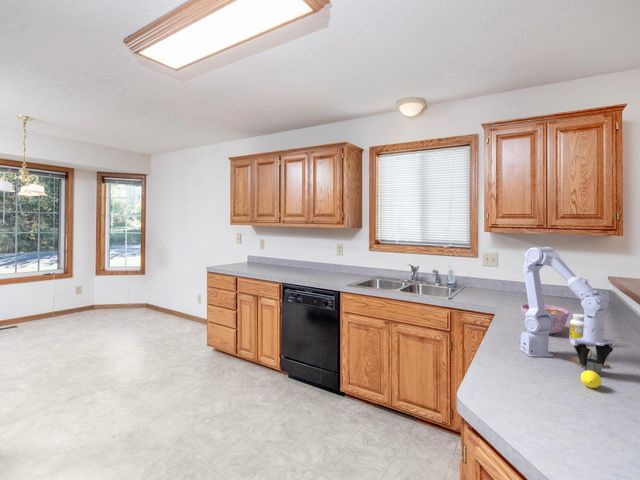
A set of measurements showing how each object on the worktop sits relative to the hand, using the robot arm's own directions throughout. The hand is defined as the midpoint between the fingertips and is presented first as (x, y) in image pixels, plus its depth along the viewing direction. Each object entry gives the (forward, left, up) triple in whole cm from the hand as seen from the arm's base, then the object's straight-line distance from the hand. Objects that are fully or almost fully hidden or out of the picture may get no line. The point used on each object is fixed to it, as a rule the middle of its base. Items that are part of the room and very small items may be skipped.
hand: (591, 364), depth 123 cm
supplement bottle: (+18, +30, -3) cm, 35 cm away
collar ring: (0, 0, -2) cm, 2 cm away
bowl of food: (+13, +46, -3) cm, 48 cm away
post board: (+5, +8, -3) cm, 10 cm away
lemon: (-9, -11, -3) cm, 14 cm away
